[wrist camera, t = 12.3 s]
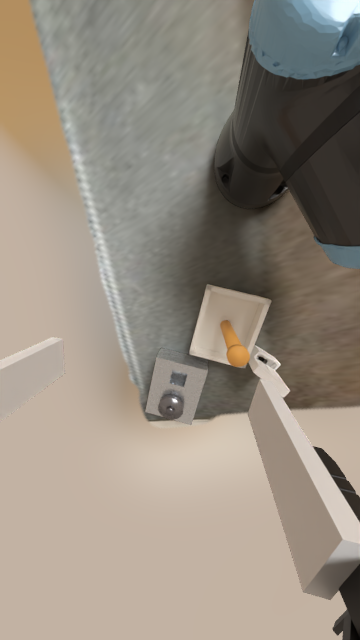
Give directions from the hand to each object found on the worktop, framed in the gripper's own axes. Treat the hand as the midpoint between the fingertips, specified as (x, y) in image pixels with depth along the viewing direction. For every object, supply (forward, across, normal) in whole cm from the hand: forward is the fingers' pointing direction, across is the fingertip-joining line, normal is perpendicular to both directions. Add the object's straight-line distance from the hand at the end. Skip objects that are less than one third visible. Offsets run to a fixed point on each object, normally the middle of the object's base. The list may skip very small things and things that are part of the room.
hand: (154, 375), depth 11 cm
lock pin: (+29, +9, -4) cm, 31 cm away
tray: (+29, +9, -4) cm, 31 cm away
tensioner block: (+29, 0, -22) cm, 36 cm away
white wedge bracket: (+30, +19, -10) cm, 37 cm away
